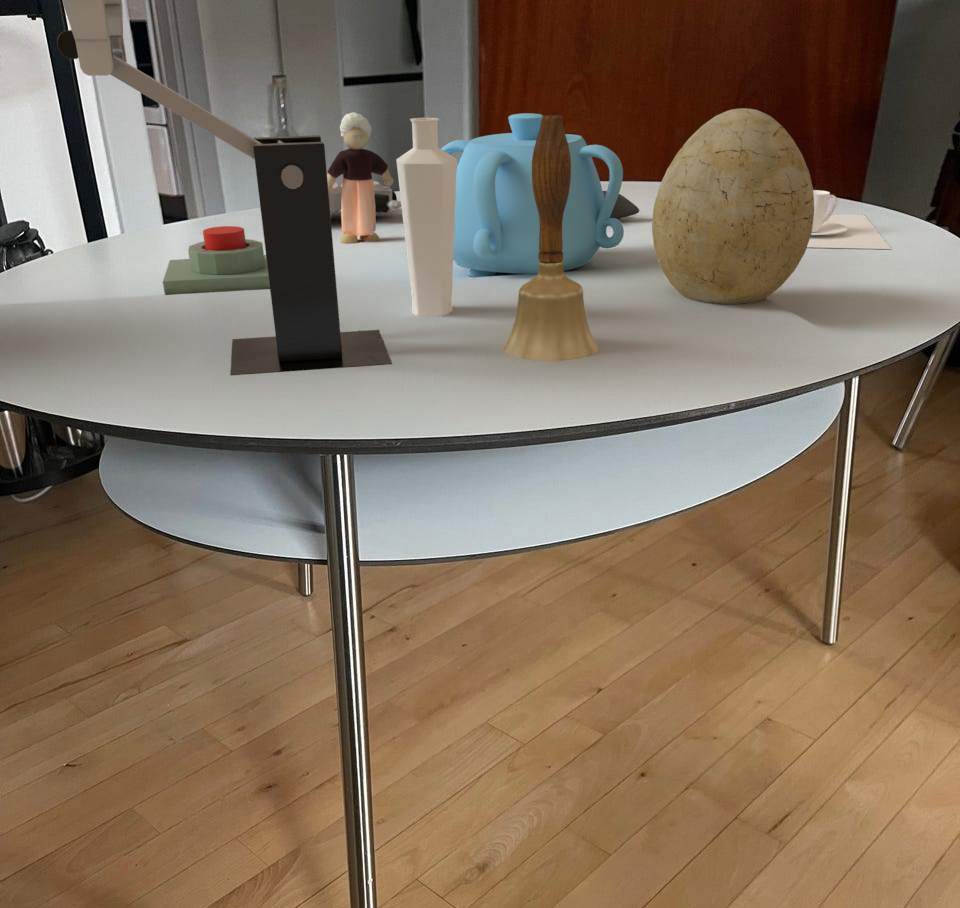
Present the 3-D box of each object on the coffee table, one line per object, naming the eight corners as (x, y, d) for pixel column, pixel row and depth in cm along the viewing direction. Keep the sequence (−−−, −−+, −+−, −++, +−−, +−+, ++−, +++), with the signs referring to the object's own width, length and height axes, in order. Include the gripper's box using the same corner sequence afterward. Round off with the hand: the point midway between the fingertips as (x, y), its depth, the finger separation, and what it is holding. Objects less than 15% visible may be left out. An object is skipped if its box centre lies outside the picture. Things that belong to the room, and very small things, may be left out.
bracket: (232, 392, 69) (197, 151, 61) (234, 354, 77) (203, 135, 69) (394, 381, 71) (380, 145, 63) (380, 345, 78) (366, 130, 70)
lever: (50, 58, 59) (65, 16, 58) (63, 54, 63) (77, 16, 62) (303, 205, 66) (320, 170, 65) (300, 193, 70) (316, 160, 69)
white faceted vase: (417, 316, 85) (407, 115, 77) (465, 321, 84) (461, 116, 76) (393, 331, 82) (380, 121, 74) (443, 335, 80) (436, 122, 72)
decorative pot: (632, 284, 94) (644, 119, 87) (462, 295, 91) (459, 125, 84) (578, 249, 108) (584, 104, 101) (428, 258, 105) (423, 109, 98)
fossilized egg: (666, 284, 94) (680, 100, 86) (809, 295, 89) (838, 102, 81) (629, 319, 84) (641, 114, 76) (788, 333, 79) (819, 117, 72)
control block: (166, 307, 89) (158, 259, 87) (173, 284, 97) (166, 239, 95) (294, 299, 91) (289, 252, 89) (291, 277, 98) (286, 233, 96)
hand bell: (483, 378, 71) (480, 122, 63) (502, 344, 78) (502, 109, 69) (603, 383, 70) (616, 122, 61) (611, 348, 77) (624, 109, 68)
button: (204, 255, 90) (201, 234, 89) (206, 247, 93) (203, 227, 92) (246, 253, 91) (243, 232, 90) (246, 245, 94) (244, 225, 93)
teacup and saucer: (767, 238, 111) (772, 197, 109) (763, 224, 118) (768, 186, 115) (851, 239, 110) (858, 198, 107) (842, 226, 116) (848, 187, 114)
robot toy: (388, 214, 132) (269, 211, 128) (388, 176, 129) (268, 172, 126) (404, 231, 122) (276, 229, 118) (405, 190, 119) (275, 186, 116)
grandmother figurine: (340, 247, 110) (329, 115, 104) (324, 241, 113) (313, 113, 106) (402, 238, 114) (396, 111, 107) (385, 233, 117) (378, 108, 110)
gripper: (30, -194, 63) (76, 63, 70) (-53, -267, 46) (19, 83, 53) (136, -191, 64) (171, 63, 71) (94, -261, 47) (145, 82, 54)
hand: (106, 72), depth 62 cm, fingers closed on lever, 5 cm apart
